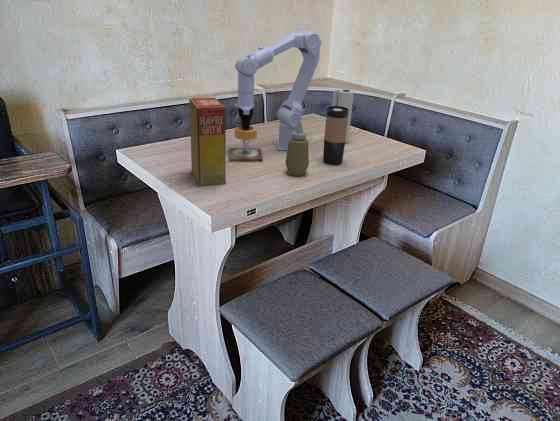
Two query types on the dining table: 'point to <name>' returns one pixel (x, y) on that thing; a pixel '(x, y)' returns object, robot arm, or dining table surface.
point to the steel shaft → (245, 147)
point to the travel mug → (335, 135)
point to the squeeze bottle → (297, 152)
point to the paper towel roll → (344, 105)
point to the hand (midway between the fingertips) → (245, 128)
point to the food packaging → (208, 140)
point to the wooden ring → (245, 133)
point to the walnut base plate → (245, 155)
